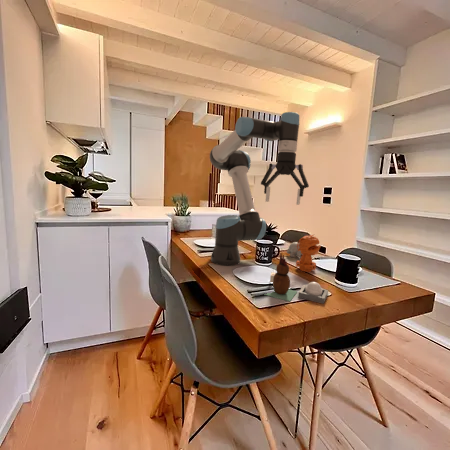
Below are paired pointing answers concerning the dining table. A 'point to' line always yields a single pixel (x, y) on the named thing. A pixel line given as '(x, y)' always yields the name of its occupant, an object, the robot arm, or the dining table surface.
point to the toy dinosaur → (307, 252)
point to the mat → (283, 295)
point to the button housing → (313, 297)
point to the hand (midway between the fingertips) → (282, 203)
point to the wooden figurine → (281, 277)
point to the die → (272, 276)
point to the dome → (314, 289)
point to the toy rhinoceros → (294, 250)
